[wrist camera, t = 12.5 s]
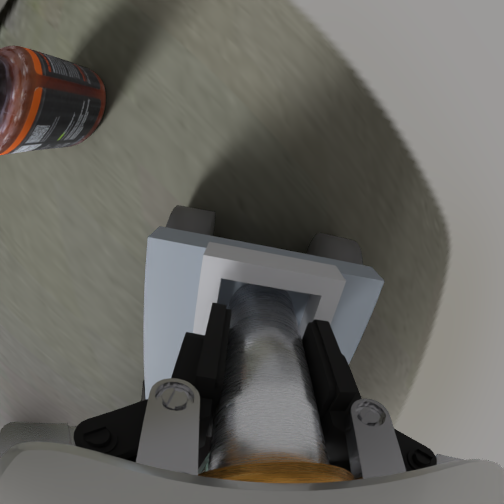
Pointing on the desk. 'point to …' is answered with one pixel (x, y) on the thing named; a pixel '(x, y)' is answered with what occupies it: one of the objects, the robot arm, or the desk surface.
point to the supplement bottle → (46, 101)
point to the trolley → (240, 273)
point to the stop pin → (267, 398)
